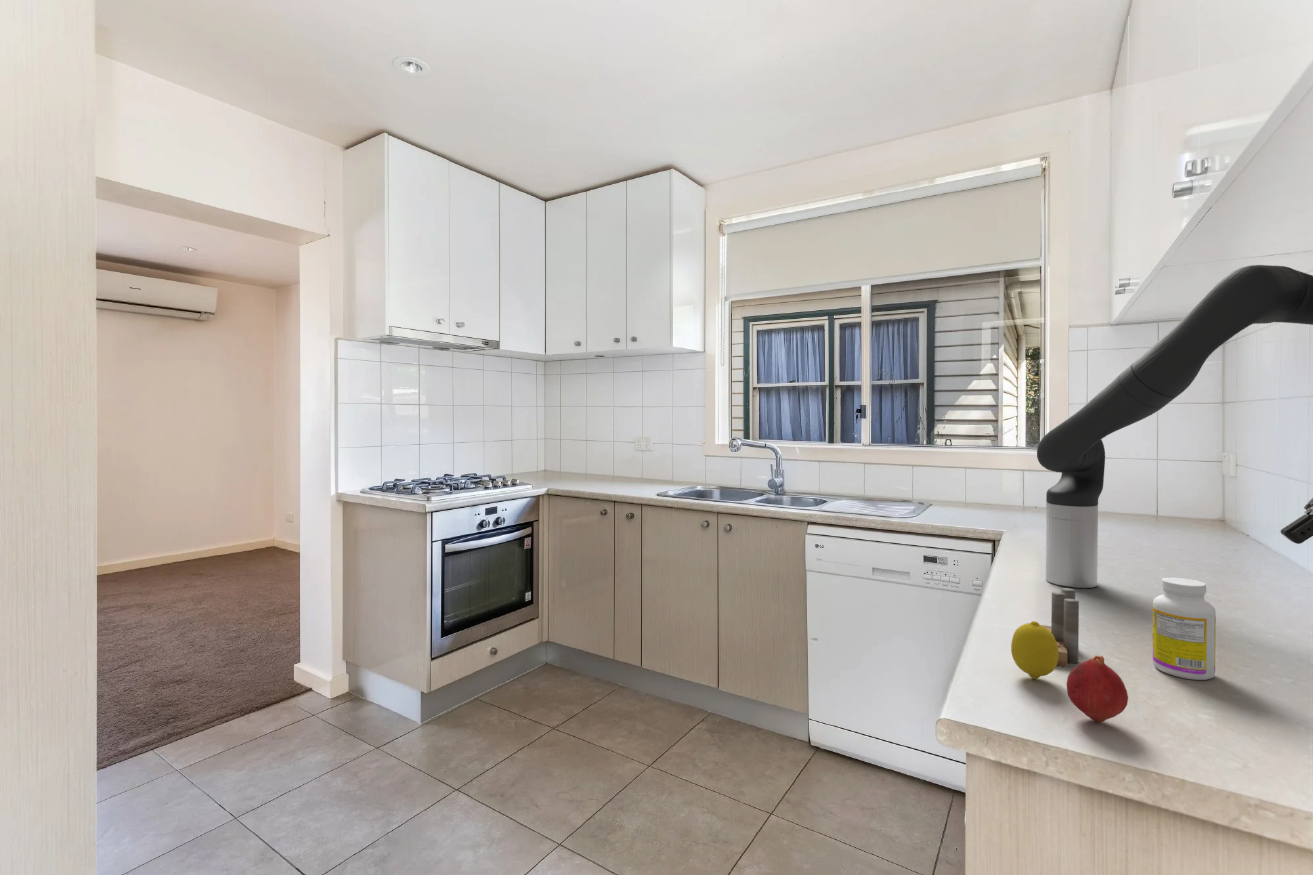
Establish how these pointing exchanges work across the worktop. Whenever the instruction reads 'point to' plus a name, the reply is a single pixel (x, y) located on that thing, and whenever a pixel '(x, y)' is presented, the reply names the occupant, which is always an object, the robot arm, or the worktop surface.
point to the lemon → (1034, 650)
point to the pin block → (1065, 625)
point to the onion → (1097, 690)
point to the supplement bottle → (1184, 630)
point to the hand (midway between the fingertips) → (1288, 538)
